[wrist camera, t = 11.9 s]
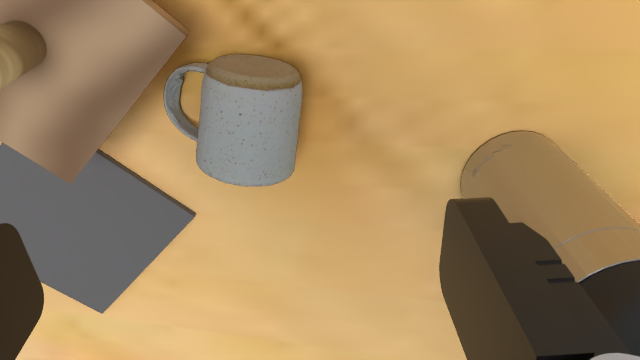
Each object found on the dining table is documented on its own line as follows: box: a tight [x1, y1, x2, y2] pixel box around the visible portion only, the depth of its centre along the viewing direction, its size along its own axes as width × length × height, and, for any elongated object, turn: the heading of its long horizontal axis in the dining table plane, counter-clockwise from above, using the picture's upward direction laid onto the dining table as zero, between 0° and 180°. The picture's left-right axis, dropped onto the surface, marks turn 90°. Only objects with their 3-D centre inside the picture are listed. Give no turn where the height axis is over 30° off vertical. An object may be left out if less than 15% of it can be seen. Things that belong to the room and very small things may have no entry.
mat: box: [0, 142, 196, 314], centre depth 44 cm, size 16×16×1 cm
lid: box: [0, 0, 190, 184], centre depth 27 cm, size 14×14×7 cm
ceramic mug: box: [164, 54, 302, 186], centre depth 36 cm, size 11×8×8 cm
